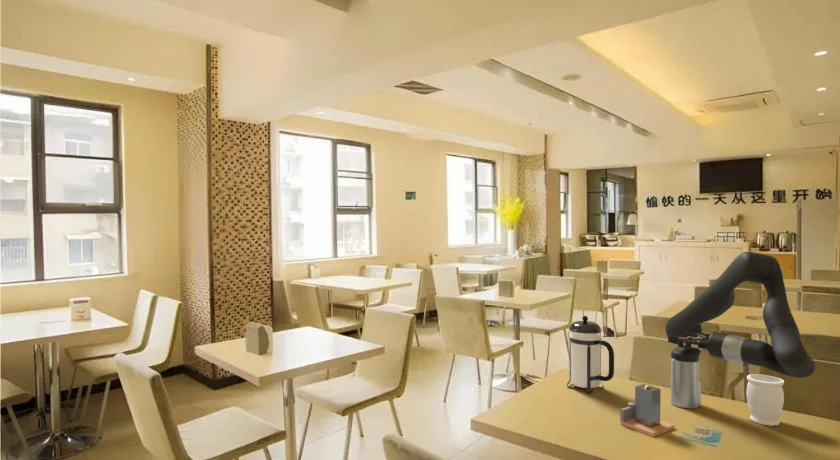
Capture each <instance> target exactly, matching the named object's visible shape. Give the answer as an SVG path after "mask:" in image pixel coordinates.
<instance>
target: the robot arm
mask: <svg viewBox="0 0 840 460" xmlns="http://www.w3.org/2000/svg"><path fill="white" fill-rule="evenodd" d="M745 282H748V283H749V282H750V283H753V284H754V283H755V284H759V285H762V286H763V287H764V289H765V291H766V293H767V298H766V301H765V303H764V306H763V310H762V319H763V322H764V325H765V328H766V330H767V332H768V335H769V337H770V340H771V344H769V343H768V342H765V341H762V340H757V339H751V338H746V337H743V336H739V335H735V334H728V333H724V332H718V331H717V332H715V331H714V332H712V333H711V334H708V333H704V332H703V330H702V324H704V323H707V322H709V321H712V320H714V319H717V318H718V317H720V316H722V315H724V313H726V312H727V311H728V310H730V309H731V308H732V307H733V306H734V303H735V299H736V297H735V295H736V294H735V289H736V288H737V287H738V286H739V285H741V284H742V283H745ZM787 297H788V296H787V291H786V287H785V281H784V276H783V271H782V268H781V265H780V262H779V260H778V259H777V258H776V257H774V256H772V255H769V254H764V253H759V252H754V251H744V252H741V253H739V254H738V255H737V256H736V257H735V258H734V259H733V260H732V262H731V263H730V264H729V265H728V266H727V268H726V269H724V271H723V272H722V273H721V274H720V275H719V276H718V277H717V279H715V280H714V281H713V282H712V283H711V284H710V285H709V286H708V287H706V288H705V289H704V290H703V291H702V292H700V294H699V295H697V297H696V298H695V299H694V300H692V301H691V302H690V303H689V304H688V305H687V306H685V308H683V309H681V311H679V312H677V313H676V314H674V315H673V316H671V317H670V318H669V319H668V320H667V322H666V324H665V334H666V337H667V343H669V344H670V343H671V344H674V345H677V347H674V348H672V350H671V351H670V403H671V404H672V405H673V406H675V407H678V408H682V409H683V408H684V409H697V408H699V407H700V406H702V405H701V404H702V381H701V380H700V376H699V374H700V373H699V372H700V370H699V369H700V365H699V361H700V359H699V358H700V355H701V352H702V351H705V350H707V352H708V355H709V356H710V357H712V358H716V359H721V360H725V361H729V362H733V363H734V362H735V363H743V364H747V365H752V366H757V367H763V368H766V369H768V370H770V371H773V372H776V373H779V374H782V375H785V376H787V377H791V378H799V379H800V378H801V379H804V378H808V377H810V376H812V375H813V374H814V372H815V370H816V363H815V361H814V359H813V358H812V356H810V354H809V353H808V352H807V350H806V349H805V346H804V345H803V342H802V340H801V334H800V333H801V332H800V329H799V327H798V325H797V322H796V320H795V318H794V316H793V313H792V310H791V308H790V305H789V302H788V298H787Z"/></svg>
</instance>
